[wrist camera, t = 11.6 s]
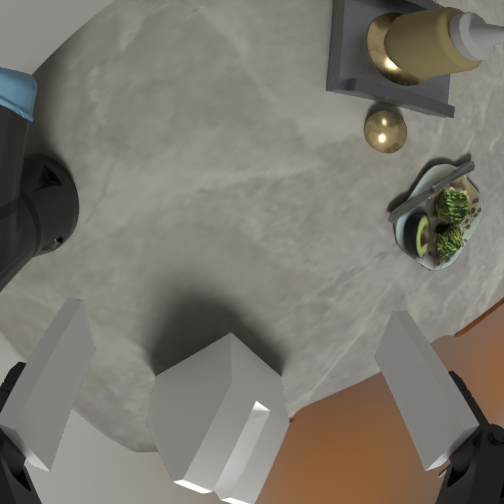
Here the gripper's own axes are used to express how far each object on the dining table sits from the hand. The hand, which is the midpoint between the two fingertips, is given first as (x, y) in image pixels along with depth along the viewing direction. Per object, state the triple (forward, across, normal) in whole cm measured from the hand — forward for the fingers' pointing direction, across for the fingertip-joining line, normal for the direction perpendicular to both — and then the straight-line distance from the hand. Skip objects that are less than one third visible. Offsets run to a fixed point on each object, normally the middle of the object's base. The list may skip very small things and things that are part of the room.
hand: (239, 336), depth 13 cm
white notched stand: (+32, -1, -39) cm, 50 cm away
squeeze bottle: (+26, +19, +19) cm, 38 cm away
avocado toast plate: (+32, +33, -4) cm, 46 cm away
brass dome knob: (+32, +20, +8) cm, 39 cm away
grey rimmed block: (+32, +19, +20) cm, 42 cm away
